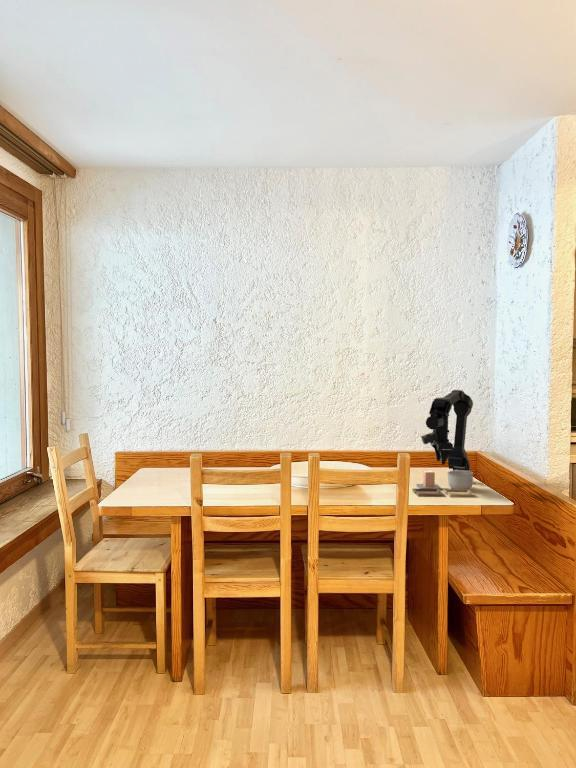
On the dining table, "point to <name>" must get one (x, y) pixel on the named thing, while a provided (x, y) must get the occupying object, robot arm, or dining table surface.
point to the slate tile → (428, 487)
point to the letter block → (428, 478)
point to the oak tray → (459, 493)
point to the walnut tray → (428, 492)
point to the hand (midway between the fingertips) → (440, 462)
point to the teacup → (460, 479)
